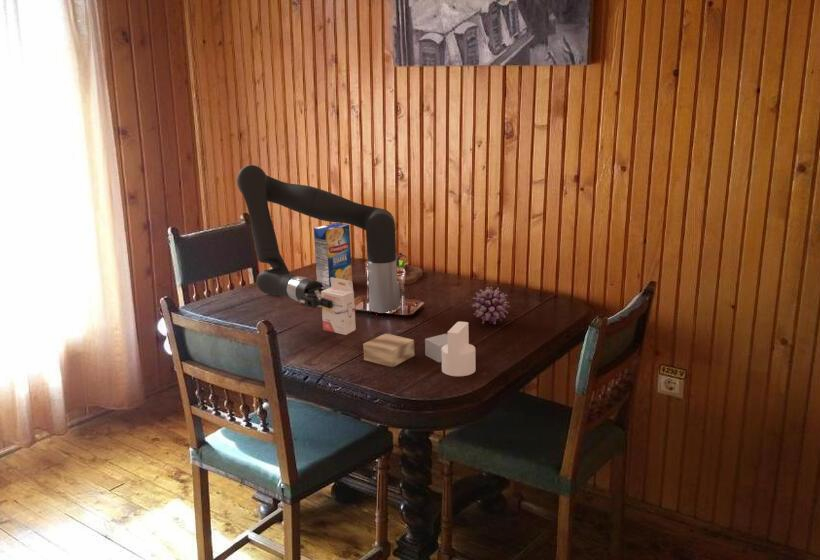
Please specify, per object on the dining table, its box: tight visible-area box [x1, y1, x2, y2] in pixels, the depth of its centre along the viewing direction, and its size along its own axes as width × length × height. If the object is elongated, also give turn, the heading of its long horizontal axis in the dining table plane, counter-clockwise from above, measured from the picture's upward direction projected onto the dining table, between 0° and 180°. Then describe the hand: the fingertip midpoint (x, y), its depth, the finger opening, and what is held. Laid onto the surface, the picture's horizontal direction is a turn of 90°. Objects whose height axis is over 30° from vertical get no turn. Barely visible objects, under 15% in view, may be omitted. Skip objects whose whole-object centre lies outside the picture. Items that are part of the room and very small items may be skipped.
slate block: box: [424, 333, 448, 364], centre depth 226 cm, size 7×7×5 cm
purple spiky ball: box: [471, 286, 511, 325], centre depth 250 cm, size 12×12×12 cm
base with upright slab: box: [441, 321, 477, 377], centre depth 216 cm, size 9×9×12 cm
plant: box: [396, 252, 424, 286], centre depth 303 cm, size 20×20×11 cm
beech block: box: [362, 332, 415, 368], centre depth 226 cm, size 10×10×5 cm
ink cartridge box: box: [321, 277, 357, 336], centre depth 230 cm, size 9×5×15 cm, turn 57°
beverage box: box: [313, 222, 353, 288], centre depth 293 cm, size 7×11×22 cm, turn 137°
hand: (340, 302), depth 229 cm, fingers closed on ink cartridge box, 6 cm apart
